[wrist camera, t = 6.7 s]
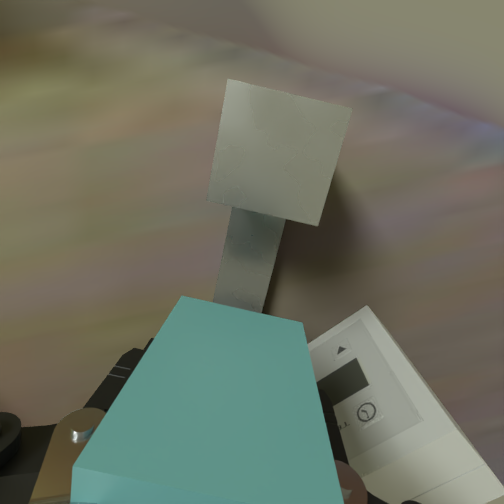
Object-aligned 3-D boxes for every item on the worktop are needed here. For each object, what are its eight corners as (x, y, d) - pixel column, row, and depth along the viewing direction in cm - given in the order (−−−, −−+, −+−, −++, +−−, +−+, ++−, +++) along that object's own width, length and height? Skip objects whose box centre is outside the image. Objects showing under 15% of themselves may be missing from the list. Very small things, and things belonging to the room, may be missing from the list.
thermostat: (367, 304, 25) (508, 497, 10) (451, 411, 28) (655, 681, 13) (255, 378, 27) (244, 614, 13) (342, 469, 30) (413, 748, 16)
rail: (193, 369, 27) (157, 471, 18) (243, 114, 21) (226, 76, 12) (248, 381, 27) (241, 488, 18) (315, 132, 21) (354, 107, 12)
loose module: (181, 295, 12) (56, 490, 5) (302, 322, 12) (355, 553, 5) (164, 393, 13) (49, 656, 6) (272, 417, 13) (280, 701, 6)
